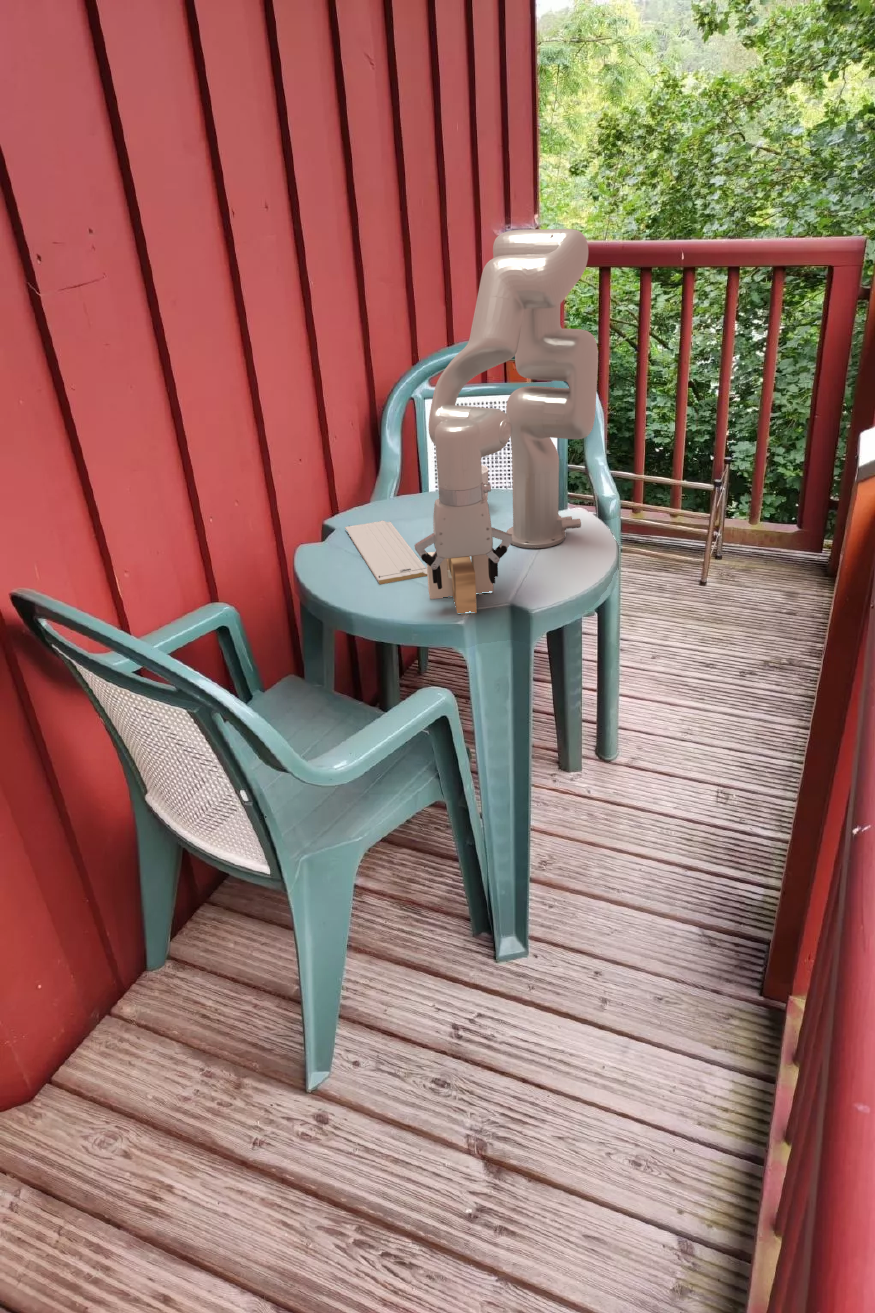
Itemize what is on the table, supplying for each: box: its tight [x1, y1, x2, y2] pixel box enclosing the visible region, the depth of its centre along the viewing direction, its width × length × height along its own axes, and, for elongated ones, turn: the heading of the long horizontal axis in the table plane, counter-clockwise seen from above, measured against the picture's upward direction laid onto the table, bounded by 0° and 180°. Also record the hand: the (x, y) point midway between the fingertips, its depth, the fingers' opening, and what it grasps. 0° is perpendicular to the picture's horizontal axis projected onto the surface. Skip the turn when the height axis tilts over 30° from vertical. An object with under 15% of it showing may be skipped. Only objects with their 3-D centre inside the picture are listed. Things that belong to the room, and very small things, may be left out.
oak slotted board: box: [447, 556, 478, 614], centre depth 169 cm, size 18×4×8 cm, turn 6°
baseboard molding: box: [344, 520, 428, 585], centre depth 190 cm, size 31×3×12 cm
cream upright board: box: [426, 551, 494, 600], centre depth 169 cm, size 12×4×8 cm, turn 96°
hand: (465, 583), depth 163 cm, fingers open, 9 cm apart
